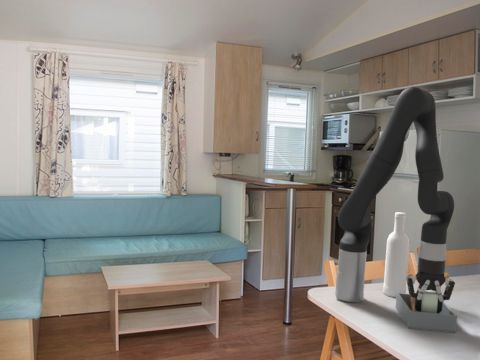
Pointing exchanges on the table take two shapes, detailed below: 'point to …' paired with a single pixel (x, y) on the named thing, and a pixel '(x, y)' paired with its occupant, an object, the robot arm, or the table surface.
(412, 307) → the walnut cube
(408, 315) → the tote
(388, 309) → the table surface
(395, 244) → the bottle
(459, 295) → the table surface
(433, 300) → the sage cylinder
